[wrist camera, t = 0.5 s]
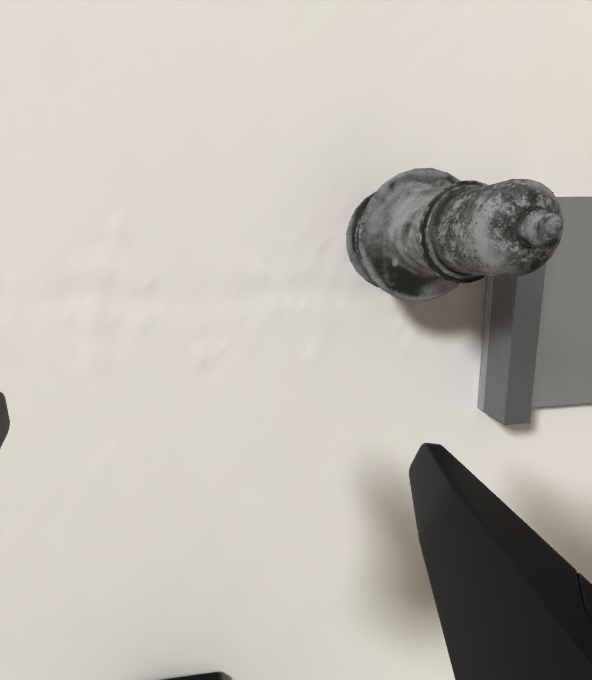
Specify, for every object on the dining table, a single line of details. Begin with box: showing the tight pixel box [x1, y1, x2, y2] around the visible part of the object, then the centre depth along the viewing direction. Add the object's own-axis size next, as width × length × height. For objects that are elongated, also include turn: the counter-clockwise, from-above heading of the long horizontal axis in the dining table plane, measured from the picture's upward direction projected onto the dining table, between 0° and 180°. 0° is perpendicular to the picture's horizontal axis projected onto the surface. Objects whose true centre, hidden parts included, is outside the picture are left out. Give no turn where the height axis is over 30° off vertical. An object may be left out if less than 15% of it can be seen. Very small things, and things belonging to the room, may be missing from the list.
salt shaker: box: [347, 168, 564, 301], centre depth 16 cm, size 6×6×12 cm
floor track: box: [478, 192, 592, 425], centre depth 23 cm, size 12×11×3 cm
